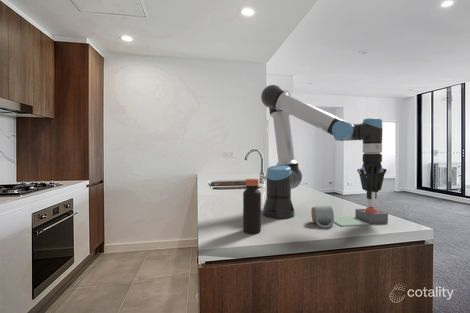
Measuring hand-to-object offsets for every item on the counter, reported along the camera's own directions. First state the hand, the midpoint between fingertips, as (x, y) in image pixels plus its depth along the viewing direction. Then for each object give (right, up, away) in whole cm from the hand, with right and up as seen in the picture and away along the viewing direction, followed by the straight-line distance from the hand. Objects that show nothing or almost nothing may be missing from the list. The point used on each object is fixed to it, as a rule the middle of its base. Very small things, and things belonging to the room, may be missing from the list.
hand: (371, 206), depth 107 cm
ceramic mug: (-24, -7, -6) cm, 25 cm away
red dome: (0, -5, 0) cm, 5 cm away
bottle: (-55, -7, -15) cm, 57 cm away
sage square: (-12, -6, -2) cm, 14 cm away
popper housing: (0, -6, 0) cm, 6 cm away
